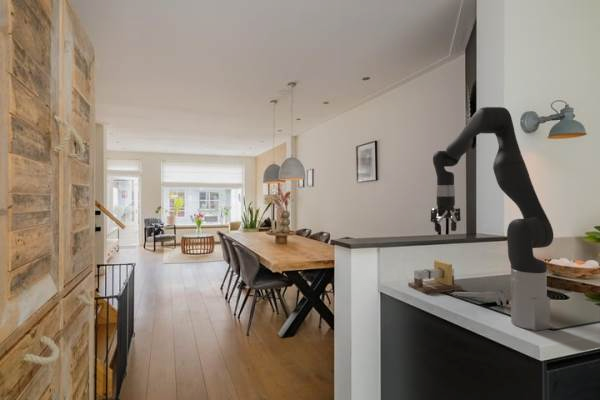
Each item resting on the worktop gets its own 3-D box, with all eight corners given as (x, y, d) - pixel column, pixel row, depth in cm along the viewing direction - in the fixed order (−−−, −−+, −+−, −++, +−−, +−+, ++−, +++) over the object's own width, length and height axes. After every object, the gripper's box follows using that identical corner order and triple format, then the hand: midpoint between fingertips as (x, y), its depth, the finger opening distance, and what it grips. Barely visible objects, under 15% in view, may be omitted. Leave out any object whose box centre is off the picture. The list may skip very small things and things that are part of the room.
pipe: (454, 276, 146) (454, 268, 146) (418, 279, 142) (418, 272, 141) (449, 274, 150) (448, 267, 149) (414, 278, 145) (413, 270, 145)
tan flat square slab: (452, 285, 143) (452, 264, 143) (448, 285, 142) (448, 264, 142) (438, 279, 151) (437, 260, 151) (434, 280, 151) (434, 260, 151)
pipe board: (461, 289, 142) (461, 278, 142) (425, 293, 137) (425, 282, 137) (442, 282, 154) (442, 272, 154) (408, 286, 149) (408, 275, 149)
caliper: (506, 307, 121) (506, 290, 121) (505, 308, 120) (505, 290, 120) (451, 294, 137) (451, 279, 137) (450, 295, 136) (450, 279, 136)
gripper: (438, 195, 144) (438, 233, 145) (464, 195, 148) (464, 231, 149) (426, 195, 151) (426, 231, 152) (452, 195, 155) (452, 229, 156)
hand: (445, 231), depth 150 cm, fingers open, 8 cm apart
